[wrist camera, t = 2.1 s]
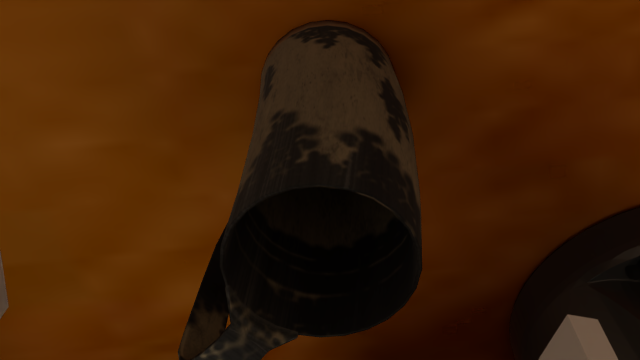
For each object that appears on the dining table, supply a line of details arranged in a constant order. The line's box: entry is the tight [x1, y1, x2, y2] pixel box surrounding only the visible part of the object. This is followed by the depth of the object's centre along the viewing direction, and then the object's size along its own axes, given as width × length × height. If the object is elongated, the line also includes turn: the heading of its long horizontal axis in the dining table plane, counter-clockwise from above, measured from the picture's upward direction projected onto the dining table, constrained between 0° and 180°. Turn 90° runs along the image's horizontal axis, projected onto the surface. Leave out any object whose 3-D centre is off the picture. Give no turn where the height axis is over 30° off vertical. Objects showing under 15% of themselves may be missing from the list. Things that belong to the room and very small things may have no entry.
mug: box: [178, 20, 422, 360], centre depth 18 cm, size 8×6×12 cm
